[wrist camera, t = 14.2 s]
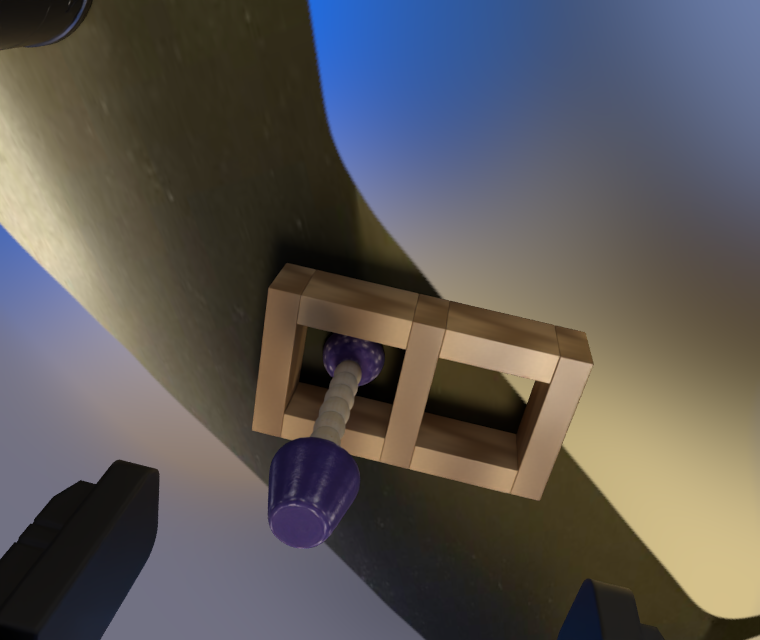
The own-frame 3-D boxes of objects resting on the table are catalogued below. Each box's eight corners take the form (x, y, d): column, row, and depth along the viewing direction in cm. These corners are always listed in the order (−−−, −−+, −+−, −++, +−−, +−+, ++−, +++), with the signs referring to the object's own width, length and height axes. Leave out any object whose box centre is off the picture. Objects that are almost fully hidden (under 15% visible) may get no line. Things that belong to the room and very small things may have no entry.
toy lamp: (339, 310, 44) (264, 474, 30) (403, 339, 45) (360, 515, 30) (315, 366, 47) (234, 544, 32) (376, 392, 47) (324, 581, 32)
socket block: (269, 397, 48) (251, 430, 45) (286, 262, 43) (268, 287, 40) (536, 462, 48) (539, 501, 44) (585, 332, 42) (594, 363, 39)
